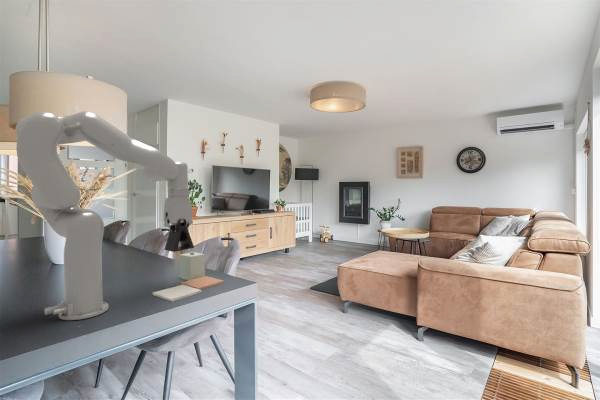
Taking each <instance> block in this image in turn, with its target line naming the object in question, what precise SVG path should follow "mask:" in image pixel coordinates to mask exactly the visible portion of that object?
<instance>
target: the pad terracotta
mask: <svg viewBox="0 0 600 400" xmlns="http://www.w3.org/2000/svg"><path fill="white" fill-rule="evenodd" d="M223 283H225V280H223V279H219V278H214V277H211V276H207V275H205V276H204V277H200V278H196V279H192V280H185V281H182V282H180V283H179V285H186V286H189V287H193V288H196V289H199V290H205V289H207V288H211V287H214V286H217V285H221V284H223Z"/></svg>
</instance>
